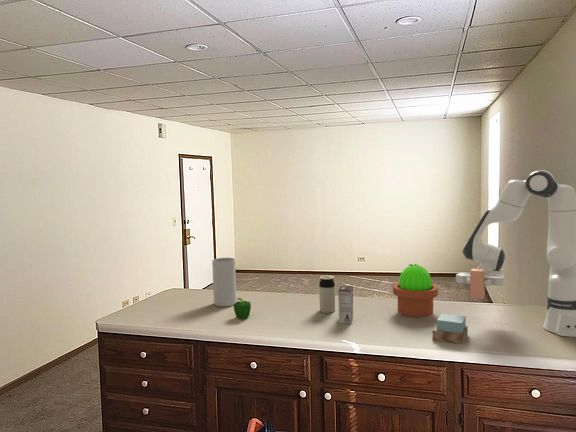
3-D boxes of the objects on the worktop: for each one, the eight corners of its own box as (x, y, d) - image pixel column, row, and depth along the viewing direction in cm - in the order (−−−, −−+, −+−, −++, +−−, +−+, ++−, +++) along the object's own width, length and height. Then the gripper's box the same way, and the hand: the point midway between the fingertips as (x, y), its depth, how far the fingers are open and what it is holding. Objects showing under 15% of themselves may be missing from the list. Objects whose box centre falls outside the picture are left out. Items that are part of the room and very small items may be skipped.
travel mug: (330, 314, 240) (330, 279, 238) (317, 311, 244) (316, 277, 242) (337, 310, 246) (337, 276, 245) (324, 308, 250) (323, 274, 249)
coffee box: (340, 317, 234) (340, 285, 232) (353, 317, 233) (353, 285, 231) (338, 323, 225) (338, 290, 223) (352, 323, 224) (351, 290, 222)
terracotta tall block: (484, 296, 207) (484, 269, 206) (482, 298, 203) (482, 271, 202) (472, 295, 209) (472, 268, 208) (470, 297, 205) (470, 270, 204)
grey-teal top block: (465, 326, 203) (465, 316, 203) (461, 333, 194) (461, 323, 194) (441, 323, 208) (441, 313, 207) (436, 330, 199) (436, 319, 199)
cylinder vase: (227, 299, 272) (226, 256, 270) (241, 303, 263) (239, 259, 261) (209, 304, 264) (207, 260, 261) (222, 308, 254) (220, 262, 252)
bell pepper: (254, 317, 237) (254, 297, 236) (242, 321, 231) (241, 301, 230) (243, 314, 243) (242, 295, 242) (231, 318, 237) (230, 298, 236)
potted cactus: (436, 321, 224) (436, 269, 222) (389, 316, 232) (389, 267, 230) (439, 308, 245) (439, 260, 242) (396, 305, 253) (396, 259, 250)
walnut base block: (467, 336, 204) (467, 326, 203) (462, 345, 193) (462, 334, 193) (439, 332, 210) (439, 322, 209) (432, 340, 200) (432, 330, 199)
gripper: (458, 268, 222) (452, 273, 210) (506, 271, 211) (502, 277, 199) (458, 281, 222) (452, 287, 210) (506, 285, 212) (502, 292, 200)
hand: (477, 282), depth 205 cm, fingers closed on terracotta tall block, 5 cm apart
